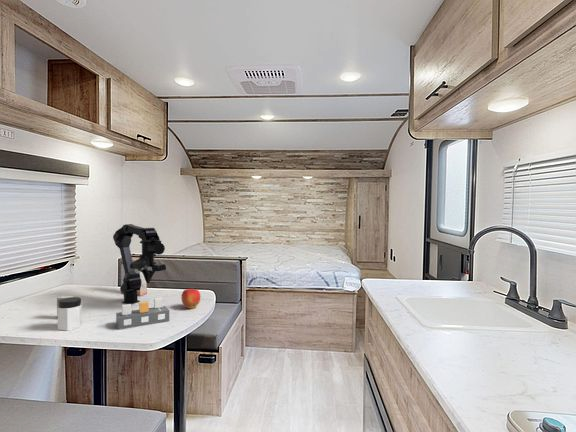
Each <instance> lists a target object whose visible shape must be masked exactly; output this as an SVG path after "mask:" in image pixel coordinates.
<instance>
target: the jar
mask: <svg viewBox="0 0 576 432" xmlns="http://www.w3.org/2000/svg"><path fill="white" fill-rule="evenodd" d="M82 306H83V305H82V298H81V297H76V296H75V297H74V296H73V297H70V298H64V299H61V300H59V308H58V319H57V330H58V331H66V332H67V331H71V330H76V329H79V328H81V326H82V324H83V322H82V321H83V320H82V319H83V318H82V317H83V316H82V314H83V313H82V311H83V309H82Z"/></svg>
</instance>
